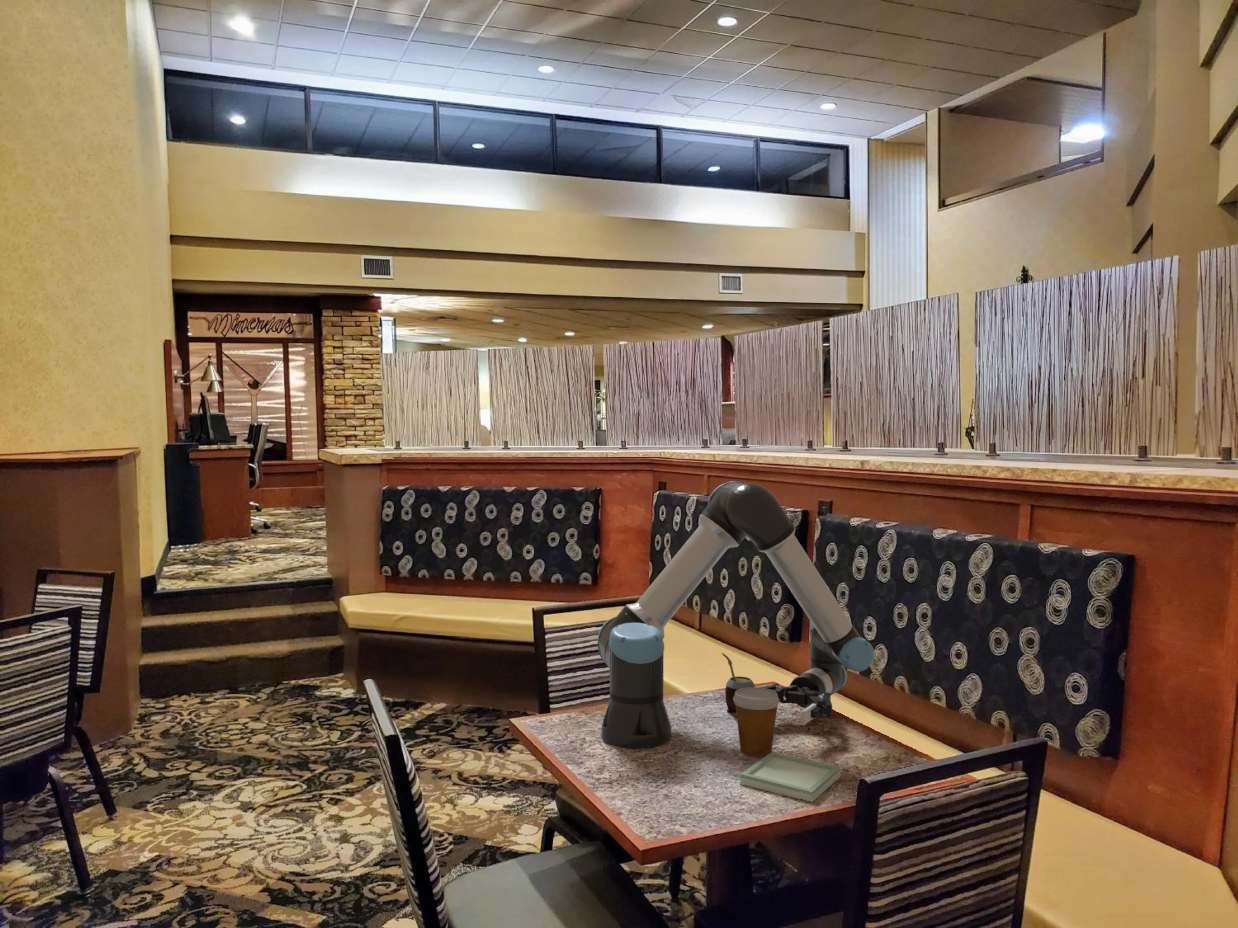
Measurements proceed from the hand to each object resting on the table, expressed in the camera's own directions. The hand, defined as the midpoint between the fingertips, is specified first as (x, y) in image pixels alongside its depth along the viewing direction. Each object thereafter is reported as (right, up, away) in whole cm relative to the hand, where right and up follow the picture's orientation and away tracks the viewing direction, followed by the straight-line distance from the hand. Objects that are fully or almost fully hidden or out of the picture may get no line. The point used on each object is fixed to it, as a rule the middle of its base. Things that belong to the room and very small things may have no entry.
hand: (772, 711), depth 175 cm
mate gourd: (-4, -6, +19) cm, 21 cm away
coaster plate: (0, -7, -20) cm, 21 cm away
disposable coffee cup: (-4, -7, -5) cm, 10 cm away
